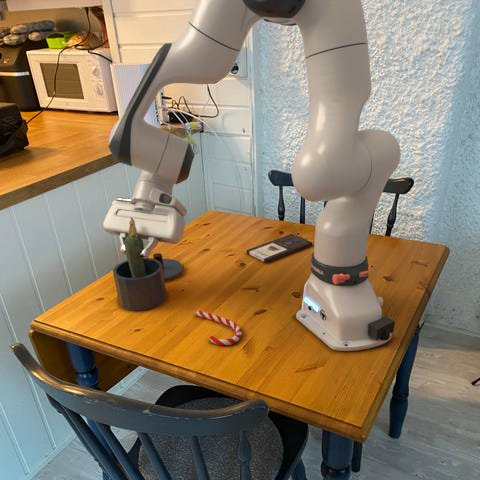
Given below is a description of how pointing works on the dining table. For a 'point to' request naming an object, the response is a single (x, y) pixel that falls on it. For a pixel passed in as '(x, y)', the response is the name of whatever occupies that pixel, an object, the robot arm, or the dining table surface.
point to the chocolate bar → (279, 248)
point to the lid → (169, 266)
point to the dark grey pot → (140, 286)
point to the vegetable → (134, 252)
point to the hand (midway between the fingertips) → (133, 255)
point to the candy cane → (226, 322)
